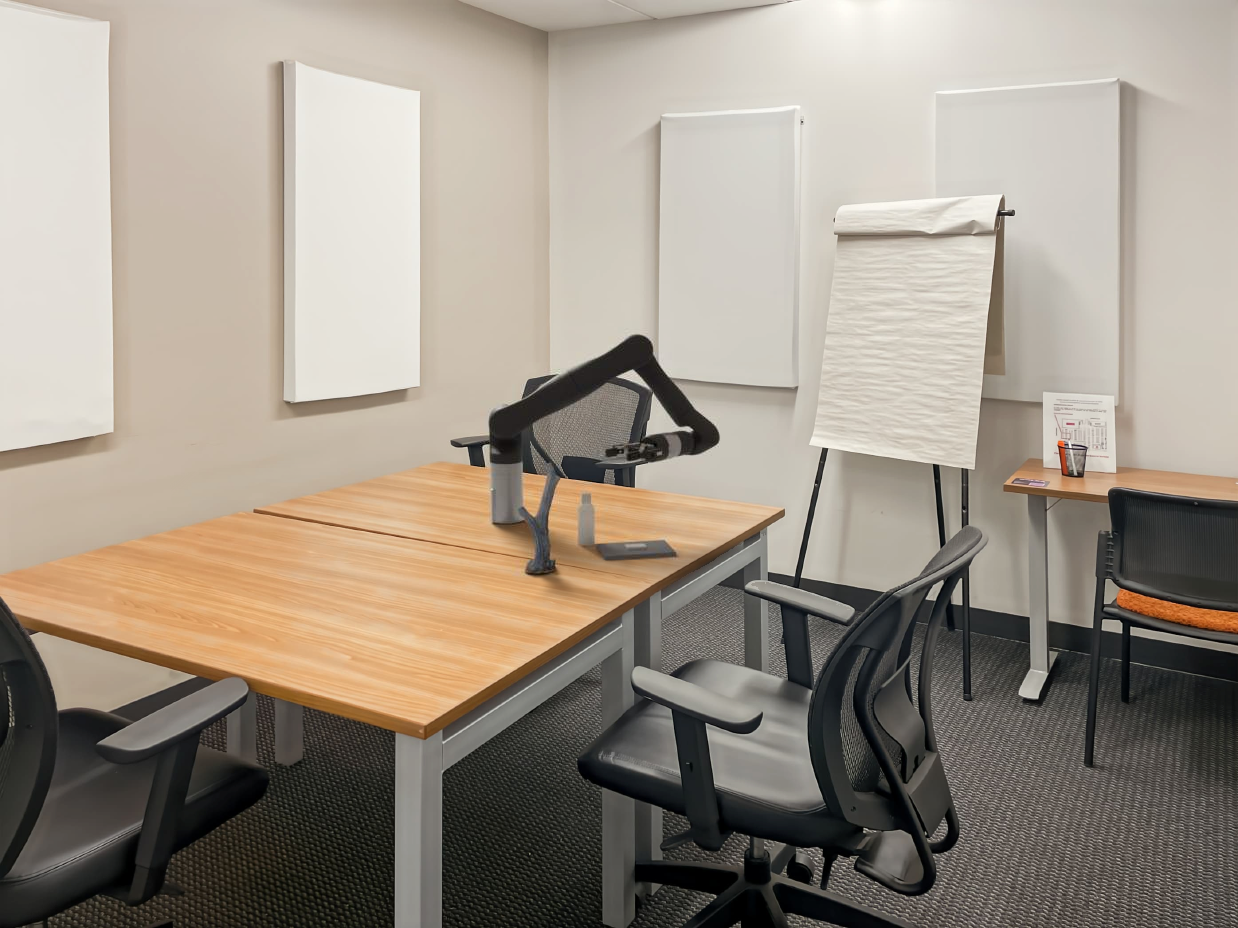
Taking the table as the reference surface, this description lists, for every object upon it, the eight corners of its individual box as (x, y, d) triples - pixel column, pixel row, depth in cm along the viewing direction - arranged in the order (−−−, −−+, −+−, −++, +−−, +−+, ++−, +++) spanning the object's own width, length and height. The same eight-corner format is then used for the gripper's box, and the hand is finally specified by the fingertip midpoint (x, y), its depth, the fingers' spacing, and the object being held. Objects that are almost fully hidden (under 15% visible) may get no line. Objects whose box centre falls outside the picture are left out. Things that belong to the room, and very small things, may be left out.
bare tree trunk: (544, 577, 224) (542, 471, 220) (515, 572, 228) (513, 468, 223) (568, 564, 234) (567, 463, 230) (540, 560, 238) (539, 460, 233)
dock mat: (605, 560, 238) (605, 553, 238) (596, 547, 250) (596, 541, 249) (676, 555, 242) (676, 549, 241) (664, 543, 253) (664, 537, 253)
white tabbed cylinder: (579, 546, 251) (578, 495, 248) (576, 542, 255) (576, 492, 252) (596, 545, 251) (595, 494, 249) (593, 541, 256) (592, 491, 253)
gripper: (642, 431, 271) (598, 438, 260) (678, 436, 260) (634, 444, 250) (643, 457, 272) (599, 465, 262) (679, 463, 262) (635, 472, 251)
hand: (616, 455), depth 256 cm, fingers open, 8 cm apart
